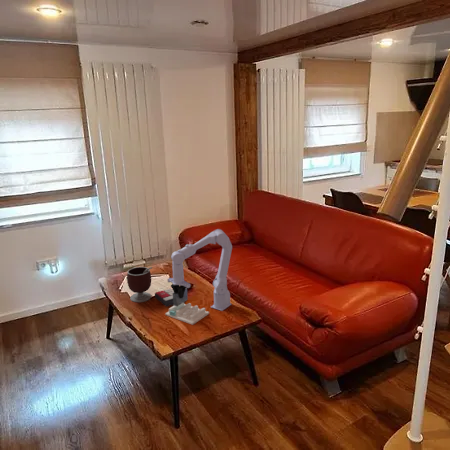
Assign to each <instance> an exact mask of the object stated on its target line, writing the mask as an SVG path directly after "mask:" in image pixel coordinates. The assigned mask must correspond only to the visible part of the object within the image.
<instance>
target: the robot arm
mask: <svg viewBox="0 0 450 450" xmlns="http://www.w3.org/2000/svg"><path fill="white" fill-rule="evenodd" d="M209 244H211V245H212V244H213V245H216V244H218V245H219V246H221V248H222V249H221V254H220V259H219V265H218V270H217V274H216V275H215V278H214V279H213V281H212V286H213V288H214V289H213V304H212V305H210V308H212V309H215V310H218V311H221V312H223V311H224V310H226V309H227V308H229V307H230V306H232V303H231V293H230V291H229V290H228V286H227V285H228V280H227V279H228V278H227V276H228V272H229V265H230V261H231V260H230V259H231V256H232V250H233V245H232V242H231V240H230V237H229V236H228V235H227V234H226V233H225V232H224V230H223V229H221V228H217V229H214V230H213V231H211V232H210V233H208V234H206V236H204V237H202V238H201V239H200V240H198V241H196V242H195V243H194V244H193V243H189V244H188V243H187V244H185V246H184V247H182V248H180V249H178V250H175V251H173V252H172V253H171V256H170V258H171V260H172V277H168V278H167V283H171V285H170V288H171V289H173V291H174V292H176V291H178V290H179V296H180V298H183V296H184V292H185V289H186V288H187V289H190V288H191V283H189V282H187V281H186V280H185V276H184V263H183V262H184V261H185V260H186V259H188V258H190V257H191V256H193V255H195V254H196V252H197V250H199V249H201V248H203V247H205V246H207V245H209Z"/></svg>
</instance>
